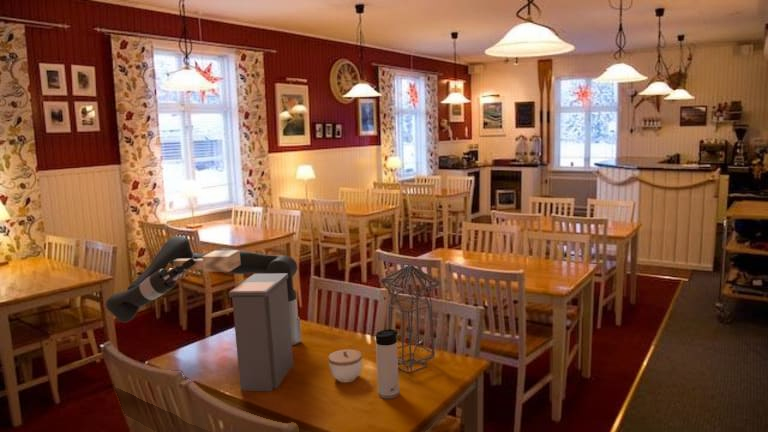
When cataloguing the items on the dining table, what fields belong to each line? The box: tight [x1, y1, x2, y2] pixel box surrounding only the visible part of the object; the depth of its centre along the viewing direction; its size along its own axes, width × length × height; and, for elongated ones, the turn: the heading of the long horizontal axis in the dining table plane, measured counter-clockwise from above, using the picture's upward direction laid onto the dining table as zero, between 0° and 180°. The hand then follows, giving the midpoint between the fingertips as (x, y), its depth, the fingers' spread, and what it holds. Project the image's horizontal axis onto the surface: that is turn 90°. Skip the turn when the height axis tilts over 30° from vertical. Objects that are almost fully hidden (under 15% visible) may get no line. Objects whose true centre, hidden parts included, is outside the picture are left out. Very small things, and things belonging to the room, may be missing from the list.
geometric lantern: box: [378, 264, 441, 374], centre depth 191 cm, size 16×16×35 cm
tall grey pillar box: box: [228, 273, 294, 392], centre depth 190 cm, size 12×22×32 cm, turn 172°
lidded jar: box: [328, 349, 363, 383], centre depth 187 cm, size 11×11×9 cm
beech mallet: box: [173, 249, 241, 273], centre depth 193 cm, size 21×9×5 cm, turn 81°
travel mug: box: [375, 328, 400, 400], centre depth 173 cm, size 6×7×20 cm
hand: (195, 259), depth 193 cm, fingers closed on beech mallet, 3 cm apart
